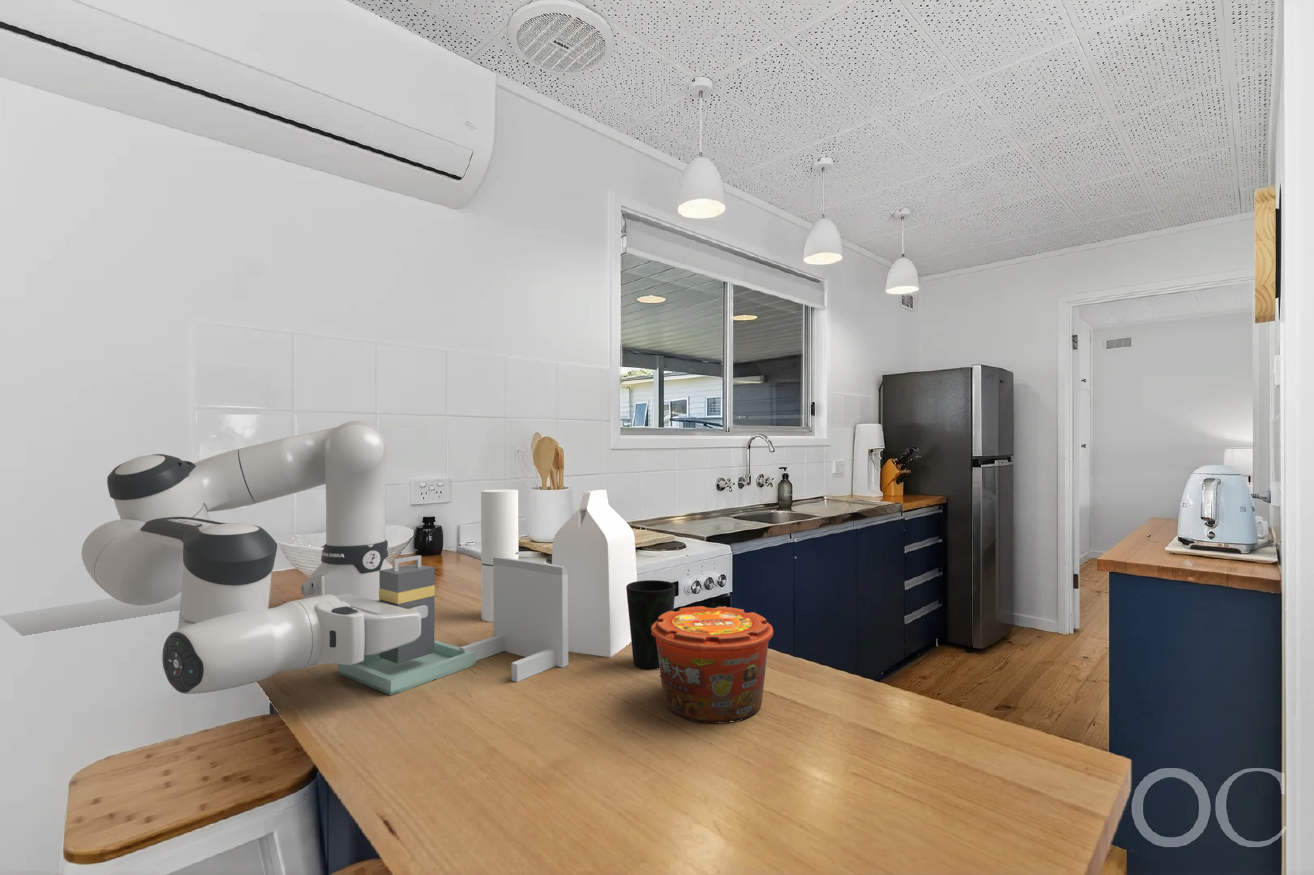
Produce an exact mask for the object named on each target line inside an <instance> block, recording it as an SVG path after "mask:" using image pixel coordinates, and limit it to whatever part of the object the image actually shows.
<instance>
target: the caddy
mask: <svg viewBox="0 0 1314 875" xmlns="http://www.w3.org/2000/svg"><path fill="white" fill-rule="evenodd" d="M413 561H415V563H414V564H409V565H403V566H399V563H407V562H413ZM435 595H436V585H435V566H434V567H433V566H428V565H424V564H423V565H422V555H413V556H408V557H402V558H395V559H392V568H390V569H385V570H379V602H382V603H386V604H390V605H394V606H398V607H402V608H405V609H410V608H412V606H414V605H418V604H422V605H426V606H427V607H428V615H427V617H425V618H422V619H421V635H420V636H419V638H417V639H416V640H415V641H413V642H411V643H408V644H405V645H403V646H400V647H397V648H394V649H391V650H388V651H385V652H382V653H379V657H380V658H383V659H386V660H388V661H391V662H394V663H397V664H400V663H403V662H406V661H409V660H412V659H416V658H419V657H422V656H425V655H428V654H431V653H434V640H435Z"/></svg>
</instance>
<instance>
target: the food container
mask: <svg viewBox="0 0 1314 875" xmlns="http://www.w3.org/2000/svg"><path fill="white" fill-rule="evenodd" d="M651 635H652V636H653V637H656V643H657V651H658V658H659V666H660V669H659V671H660V672H659V673H660V681H661V687H662V688H661V690H662V698H663V703H664V705H665V706H666V708H667V709H668V710H669V711H670V712H672V713H673V714H675V715H676V716H679V717H681V718H683V717H684V718H683V719H686V720H688V719H689V721H692V720H693V722H697V721H699V722H698V723H703V722H707V724H708V723H709V724H723V723H722V722H728V723H730V721H736V722H738V721H737V720H740V721H742V720H741V719H744V718H746V719H747V717H748V718H750V717H752V716H754V715H755V714H757V713H758V712H759V711H760V710H761V708H762V705H763V697H764V686H765V677H766V668H767V667H766V666H767V658H768V652H769V651H768V649H769V642H770V640H771V639H772V638H773V635H774V627H773V625H772V624H770V623H769V622H767V619H766V618H765V617H764V616H762V615H760V614H758V613H756V612H753V611H752V612H745V609H741V608H736V607H727V606H717V607H714V608H713V607H706V606H702V605H699V606H689V607H680V608H679V609H678V610H677V611H669V612H666V613H664V614H662V615H661V616H659V618H658V620H657V621H656V622H655V623H654V624H653V625H652V627H651ZM758 710H759V711H758ZM756 712H757V713H756ZM753 714H754V715H753ZM751 715H752V716H751ZM744 720H745V719H744ZM719 722H721V723H719Z"/></svg>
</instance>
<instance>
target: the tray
mask: <svg viewBox="0 0 1314 875" xmlns="http://www.w3.org/2000/svg"><path fill="white" fill-rule="evenodd" d="M460 647H461V646H460ZM460 647H459V646H456V645H452V644H450V643H446V642H443V641H440V640H437V639H434V653H431V654H428V655H425V656H422V657H419V658H416V659H412V660H409V661H406V662H403V663H400V664H397V663H394V662H391V661H388V660H386V659H383V658H380V657H379V653H378V654H374V655H364V660H363V661H362V662H360V663H357V664H353V665H341V664H337V672H338V673H337V674H338V675H339V676H342V677H345V678H347V679H350V680H352V681H354V682H357V683H359V684H361V685H363V686H366V687H368V688H371V689H374V690H376V691H379V692H380V693H384V694H386V695H389V696H394V695H397V694H399V693H402V692H404V691H408V690H410V689H413V688H417V687H418V686H421V684H422V685H424V684H427V683H430V682H432V680H433V681H435V680H434V679H436V680H438V679H441V678H443V677H446V675H447V676H449V675H452V674H454V673H457V672H460V671H463V670H465V669H468V668H471V667H474V666H476V662H477V661H476V652H474V651H470V650H469V651H466V652H462V651H460Z"/></svg>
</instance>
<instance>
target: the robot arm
mask: <svg viewBox="0 0 1314 875" xmlns="http://www.w3.org/2000/svg"><path fill="white" fill-rule="evenodd" d="M387 446H388V445H387V440H386V438H385V436H384V435H383V433H382V431H380V430H379V429H378V428H377V427H376V426H374V424H373V425H372V424H371V423H368V422H365V421H359V420H353V421H348V422H347V421H346V422H345V423H342V424H340V425H338V426H334V427H330V428H326V429H321V430H317V431H316V430H315V431H312V432H308V433H304V434H298V435H294V436H289V437H284V438H280V439H279V438H278V439H275V440H271V441H267V442H263V443H258V444H257V443H256V444H254V445H249V446H245V447H241V448H237V449H233V450H228V451H225V452H222V453H218V454H216V455H213V456H209V457H207V458H205V459H201V460H199V461H197V462H192V461H189V460H183V459H181V458H179V457H177V456H172V455H169V454H161V453H156V454H155V453H154V454H149V455H142V456H137V457H135V458H131V459H129V460H126V461H125V462H123V463H121V464H119V465H117V466H116V467H115V468H113V470H112V471H111V472H110V473H109V474H108V476H107V478H106V479H107V480H106V482H107V484H106V485H107V490H108V495H109V498H110V499H113V501H114V502H113V503H114V505H115V508H116V510H117V513H118V517H119V518H120V519H115V520H110V521H108V522H105V523H104V524H101V525H99V526H97V527H96V528H95V529H93V530H92V531H91V532H90V533H89V534H88V536H87V537H86V538H85V540H84V541H83V543H82V546H81V560H82V563H83V565H84V568H85V570H86V572H87V573H88V575H89V577H90V578H91V579H92V580H93V582H95V583H96V584H97V585H98V586H99V587H100V588H101V589H102V590H103V591H104V592H105V593H107V594H108V595H109V596H111V597H112V598H114V599H115V600H117V601H119V602H121V603H125V604H128V605H132V606H150V605H151V606H152V605H156V604H160V603H163V602H165V601H168V600H170V599H172V598H174V597H175V596H178V595H179V594H180V602H179V603H180V604H179V605H180V606H179V614H178V624H177V629H175V630H174V631H172V632H171V633H170V634H169V635H168V636H167V638H166V639H165V641H164V643H163V647H162V648H163V649H162V655H161V656H162V659H161V660H162V661H161V662H162V667H163V671H164V674H165V677H166V679H167V681H168V683H169V684H170V685H171V686H172V688H174V689H175V690H176V691H177V692H178V693H180V694H185V695H194V694H195V695H196V694H206V693H213V692H219V691H223V690H228V689H233V688H237V687H238V688H239V687H242V686H246V685H249V684H254V683H257V682H259V681H260V682H261V681H264V680H266V679H269V678H270V677H272V676H273V675H275V674H277V673H281V672H284V671H285V672H286V671H298V670H303V669H307V668H310V667H314V666H317V667H318V666H322V665H329V664H330V665H338V664H341V665H353V664H357V663H360V662H362V661H363V660H364V655H374V654H378V653H382V652H385V651H388V650H391V649H394V648H397V647H400V646H403V645H405V644H408V643H411V642H413V641H415V640H416V639H417V638H419V636H420V635H421V619H422V618H425V617H427V615H428V607H427V606H426V605H422V604H418V605H414V606H412V608H410V609H405V608H402V607H398V606H394V605H390V604H386V603H382V602H379V570H385V569H390V568H393V564H391V563H390V562H389V561H388V560H387V558H388V557H389V543H388V542H389V540H387V539H386V538H387V537H386V532H387V531H386V526H387V525H386V504H387V503H386V500H387V499H386V496H387V495H386V494H387V469H388V468H387V466H388V465H387V463H388V462H387V461H388V460H387V459H388V458H387V456H388V448H387ZM324 485H325V515H326V516H325V518H326V519H325V523H326V524H325V532H326V533H325V542H326V543H325V544H324V545H322V546H321V548H322V549H321V557H320V561H321V562H320V564H319V565H318V566H317V567H316V568H315V570H313V572H312V573H311V574H309V576H308V577H307V578H306V579H305V581H304V583H303V584H301V586H300V591H301V593H300V594H301V595H302V596H303V597H304V598H302V599H300V598H299V599H296V600H290V601H287V602H285V603H283V604H281V605H278V606H275V607H270V608H269V606H270V605H269V604H270V597H271V596H270V595H271V586H272V576H273V575H272V574H273V570H274V566H275V561H276V555H277V551H278V543H277V542H276V540H275V539H274V537H272V535H270V533H268V532H267V530H265V529H264V528H263V527H261V526H258V525H254V524H249V523H240V522H237V523H235V522H232V523H231V522H230V523H229V522H227V523H226V522H220V521H215V520H210V516H209V514H208V513H210V512H211V513H212V512H219V511H227V510H234V509H238V508H244V507H247V506H252V505H256V504H259V503H263V502H267V501H271V500H275V499H277V498H282V497H285V496H289V495H292V494H293V495H294V494H296V493H300V492H303V491H304V492H305V491H307V490H310V489H314V488H316V487H317V488H318V487H320V486H324Z"/></svg>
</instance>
